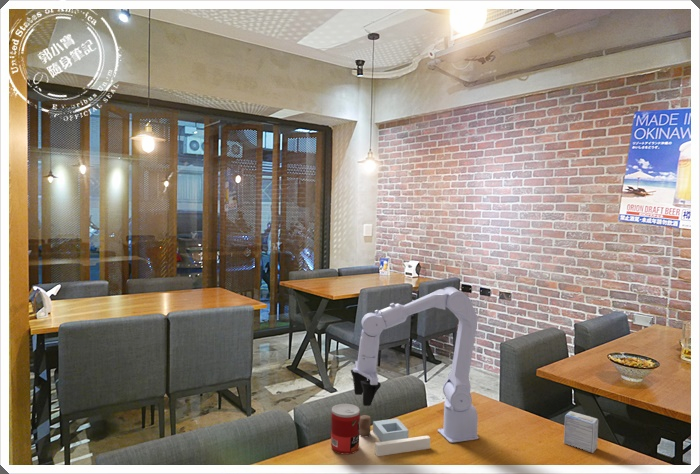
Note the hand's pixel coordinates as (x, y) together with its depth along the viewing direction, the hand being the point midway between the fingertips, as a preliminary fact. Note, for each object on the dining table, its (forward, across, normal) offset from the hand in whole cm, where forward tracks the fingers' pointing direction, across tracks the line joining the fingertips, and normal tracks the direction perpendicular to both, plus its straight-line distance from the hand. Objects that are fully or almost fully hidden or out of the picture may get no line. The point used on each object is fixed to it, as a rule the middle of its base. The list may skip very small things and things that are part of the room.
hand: (362, 399), depth 133 cm
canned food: (+12, +6, -6) cm, 14 cm away
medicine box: (+5, +23, +60) cm, 64 cm away
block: (+10, +3, +9) cm, 14 cm away
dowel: (+11, 0, +2) cm, 11 cm away
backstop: (+10, +12, +9) cm, 18 cm away
